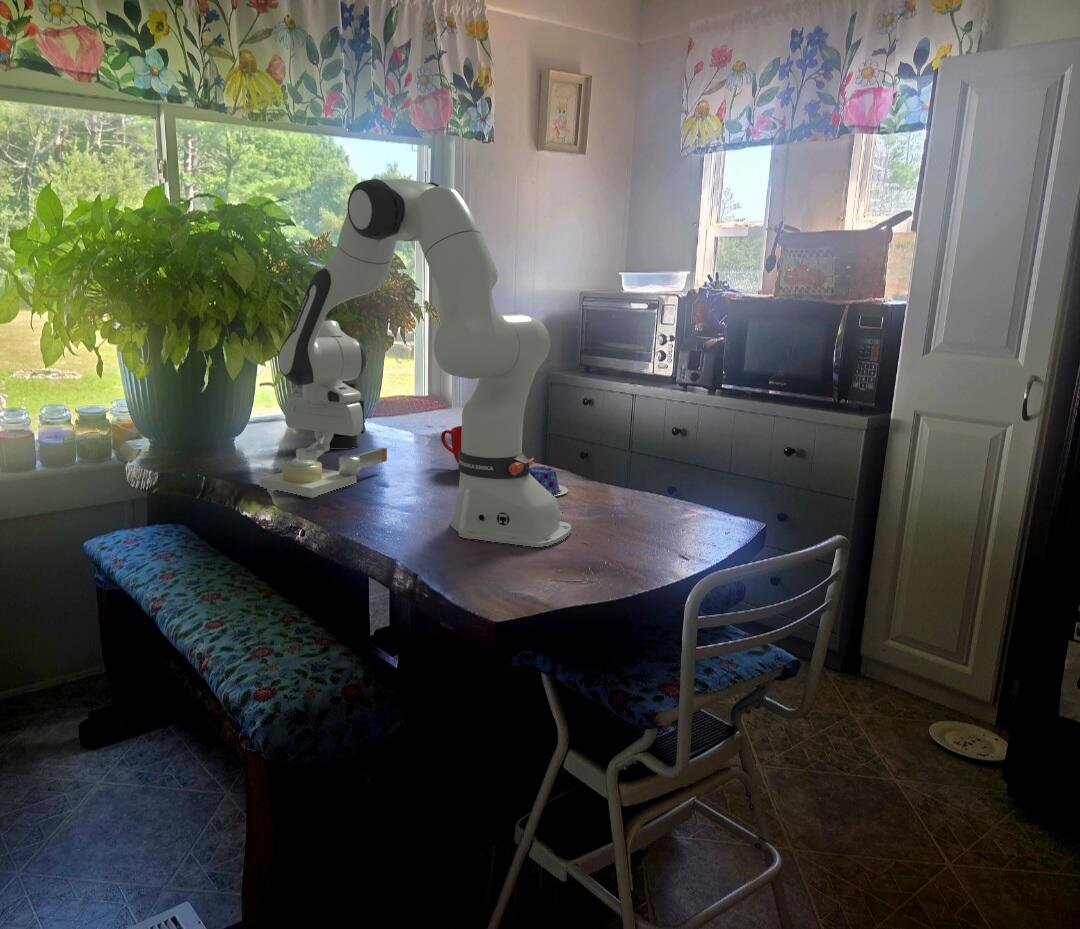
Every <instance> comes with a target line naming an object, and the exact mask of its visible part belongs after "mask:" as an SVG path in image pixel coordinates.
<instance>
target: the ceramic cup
mask: <svg viewBox="0 0 1080 929" xmlns="http://www.w3.org/2000/svg"><path fill="white" fill-rule="evenodd" d="M446 434H449V435H450V438H451V446H450V445H449V443H448V442H447V440H446ZM461 439H462V425H458V426H454V427H452V428H451V429H446V430H444V431H442V432H441V435H440V441H441V444H442V445H443V447H444V448H445V450H448V451H449V452H450V453H452V454H453V456H454V459H455V461H456V463H457V464H458V460H459V451H460V450H461Z"/></svg>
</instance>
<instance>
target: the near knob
mask: <svg viewBox="0 0 1080 929" xmlns="http://www.w3.org/2000/svg"><path fill="white" fill-rule="evenodd" d="M387 461H388V448H386V447H380V448H376V449H373V450H369V451H366V452H361V453H358V454H344V455H340V456H338V471H339V474H340V475H343V476H355V475H356V476H359V475H360V474H361V470H362V469H364V468H368V467H371V466H375V465H378V464H382V463H384V462H385V463H386V462H387Z"/></svg>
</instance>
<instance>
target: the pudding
mask: <svg viewBox="0 0 1080 929" xmlns="http://www.w3.org/2000/svg"><path fill="white" fill-rule="evenodd" d="M529 471H530V472H529V473H530V474H531V475H532V476H533V477H534V478H535V479H536V480H537V481H538V482H539V483H540V484H541V485H542V486H543V487H544V488H545V489H546V490H548V491H549V492H550V493H551V494H552V495H554V497H558V496H562V495H565V494H567V493H568V492H569V489H568V488H567V487H566V486H564V485H561V484H559V481H558V479H557V478H558V477H557V472H556V471H555V469H553V468H552V467H549V466H548V467H547V466H533V467H529ZM559 489H560V490H562V492H561V493H560V492H559ZM557 492H559V493H560V494H559V493H557ZM555 494H556V495H555ZM557 494H558V495H557Z"/></svg>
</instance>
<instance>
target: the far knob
mask: <svg viewBox="0 0 1080 929" xmlns="http://www.w3.org/2000/svg"><path fill="white" fill-rule="evenodd" d="M325 453H326V451H320V450H319V443H318V442H317V441H315V442H313V443H312V444H311V445H309V446H308V447H300V448H297V449H295V454H296V455H295V458H296V459H310V460H314V461H318V458H319V457H320V456H322V455H323V454H325Z"/></svg>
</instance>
